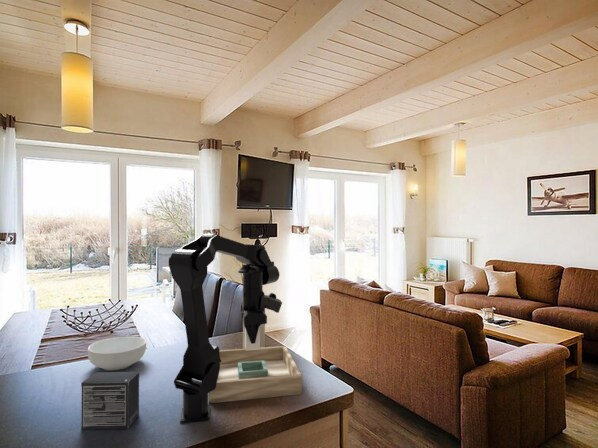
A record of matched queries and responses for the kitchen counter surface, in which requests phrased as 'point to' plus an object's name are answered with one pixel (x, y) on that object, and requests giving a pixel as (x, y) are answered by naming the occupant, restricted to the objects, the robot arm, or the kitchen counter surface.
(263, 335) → the travel mug
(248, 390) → the walled box
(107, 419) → the small box
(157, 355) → the kitchen counter surface
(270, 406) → the kitchen counter surface
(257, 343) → the grey plug
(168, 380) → the kitchen counter surface
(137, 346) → the cereal bowl
